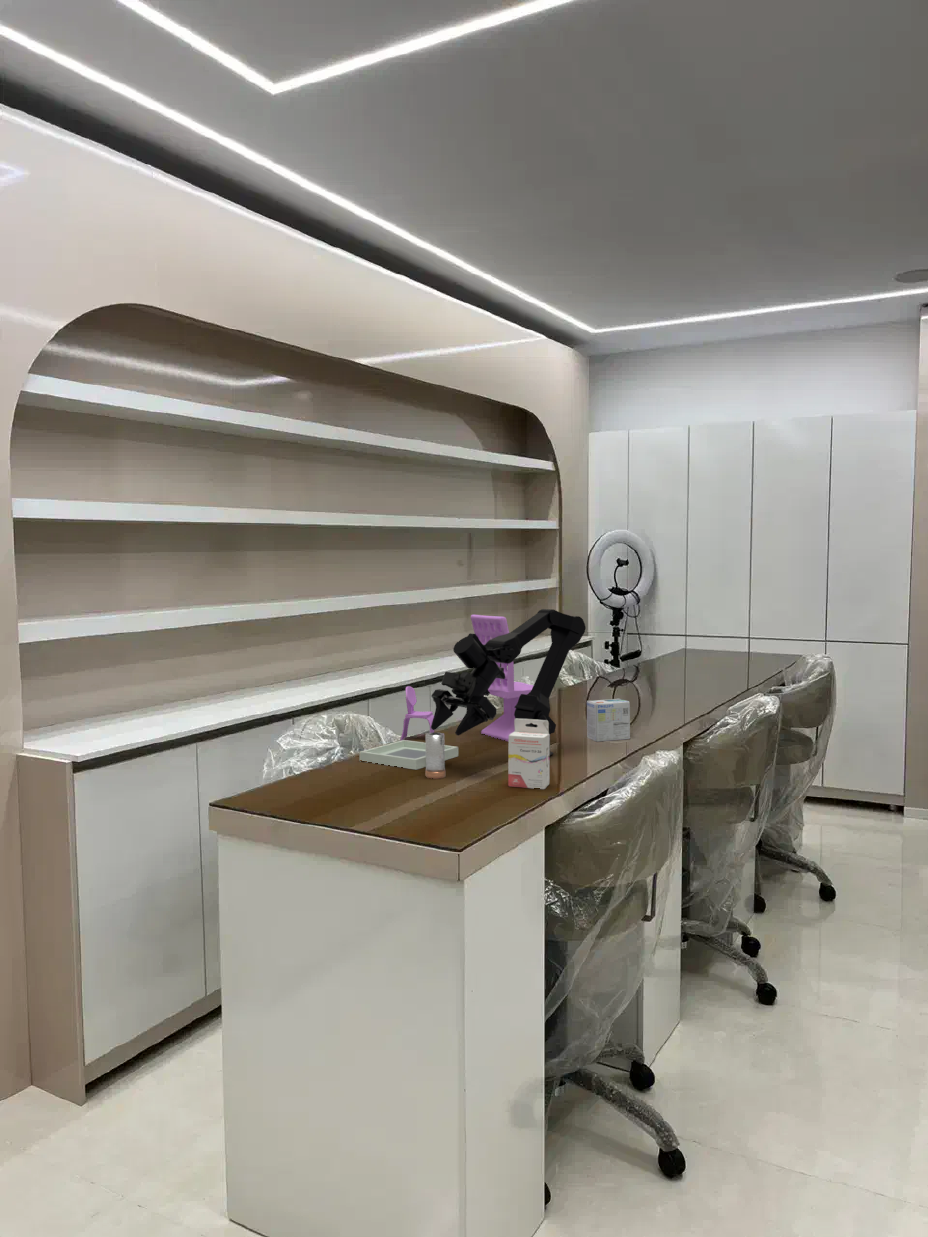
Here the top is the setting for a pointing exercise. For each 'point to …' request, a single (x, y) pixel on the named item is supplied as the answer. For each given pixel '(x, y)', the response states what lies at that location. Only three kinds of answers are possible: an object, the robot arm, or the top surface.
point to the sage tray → (403, 754)
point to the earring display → (508, 688)
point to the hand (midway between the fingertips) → (444, 731)
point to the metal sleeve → (435, 756)
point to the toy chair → (414, 712)
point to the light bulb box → (608, 720)
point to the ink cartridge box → (529, 754)
